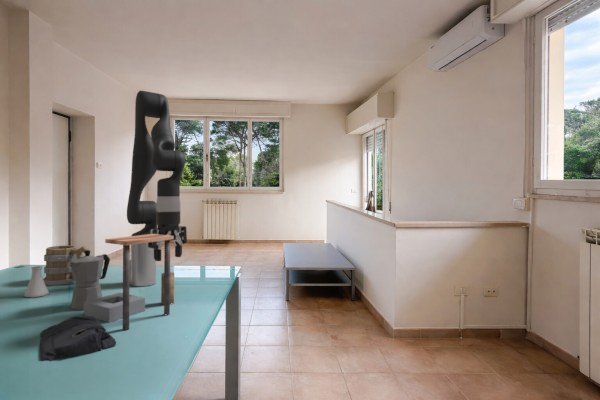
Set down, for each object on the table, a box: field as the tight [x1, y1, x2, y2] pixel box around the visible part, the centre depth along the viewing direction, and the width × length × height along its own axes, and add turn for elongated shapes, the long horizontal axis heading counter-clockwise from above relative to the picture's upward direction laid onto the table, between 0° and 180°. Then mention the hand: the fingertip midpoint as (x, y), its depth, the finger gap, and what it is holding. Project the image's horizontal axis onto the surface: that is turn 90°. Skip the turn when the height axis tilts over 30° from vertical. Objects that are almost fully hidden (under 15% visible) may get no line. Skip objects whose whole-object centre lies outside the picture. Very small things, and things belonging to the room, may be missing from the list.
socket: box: [83, 292, 146, 323], centre depth 113 cm, size 12×12×4 cm
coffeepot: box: [68, 249, 111, 311], centre depth 120 cm, size 15×9×18 cm, turn 162°
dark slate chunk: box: [39, 316, 117, 362], centre depth 92 cm, size 15×22×5 cm
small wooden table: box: [104, 234, 174, 331], centre depth 107 cm, size 9×16×24 cm, turn 152°
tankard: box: [43, 244, 89, 286], centre depth 148 cm, size 20×13×15 cm, turn 68°
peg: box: [160, 271, 175, 305], centre depth 123 cm, size 4×4×10 cm
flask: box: [23, 265, 50, 298], centre depth 130 cm, size 7×7×10 cm
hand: (168, 258), depth 123 cm, fingers open, 8 cm apart
